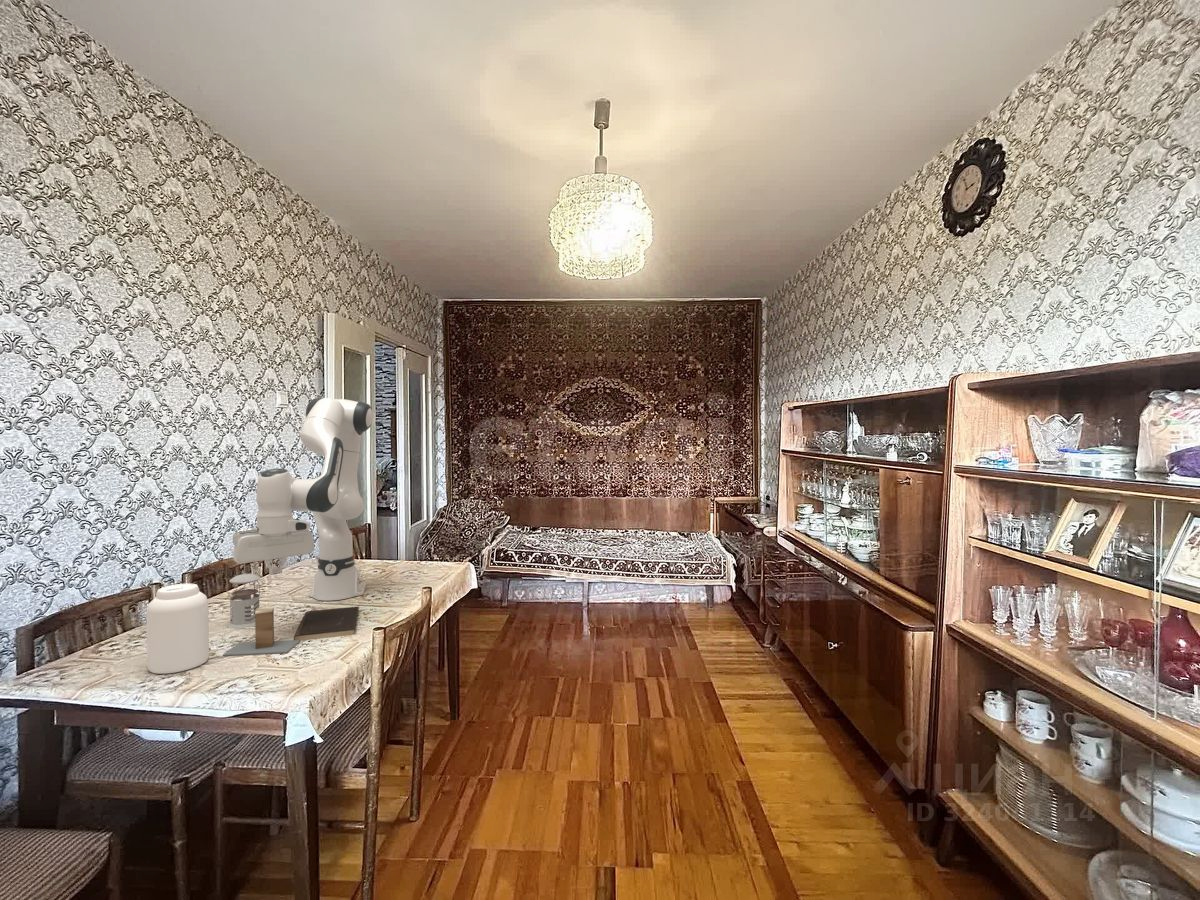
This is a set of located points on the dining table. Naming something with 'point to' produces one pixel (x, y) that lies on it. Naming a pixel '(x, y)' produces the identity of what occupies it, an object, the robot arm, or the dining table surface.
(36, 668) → the dining table surface
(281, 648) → the rubber mat
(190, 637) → the white lidded jar
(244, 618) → the french press
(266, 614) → the walnut block
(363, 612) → the dining table surface
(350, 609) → the hardcover book
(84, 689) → the dining table surface
